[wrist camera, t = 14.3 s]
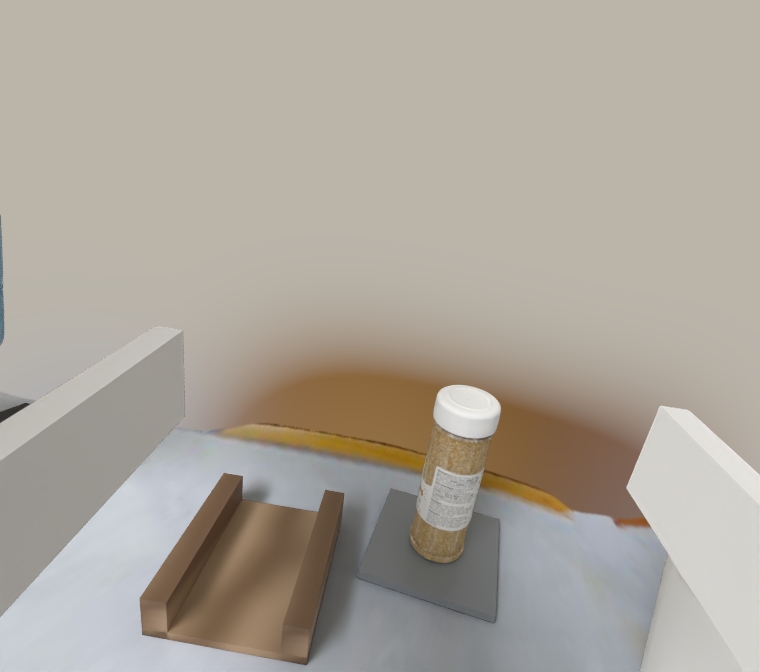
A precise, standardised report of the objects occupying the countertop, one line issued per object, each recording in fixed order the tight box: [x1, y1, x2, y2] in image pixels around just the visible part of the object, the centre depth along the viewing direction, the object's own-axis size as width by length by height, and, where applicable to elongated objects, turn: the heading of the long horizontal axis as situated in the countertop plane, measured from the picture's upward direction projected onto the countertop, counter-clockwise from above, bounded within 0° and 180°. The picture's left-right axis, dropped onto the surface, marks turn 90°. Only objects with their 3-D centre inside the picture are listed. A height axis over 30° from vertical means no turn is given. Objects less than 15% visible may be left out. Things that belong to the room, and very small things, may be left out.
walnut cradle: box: [140, 473, 344, 665], centre depth 33 cm, size 10×12×3 cm
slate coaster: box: [357, 489, 499, 623], centre depth 37 cm, size 10×10×1 cm
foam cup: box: [640, 554, 744, 672], centre depth 25 cm, size 10×9×13 cm
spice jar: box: [409, 385, 501, 563], centre depth 35 cm, size 5×5×14 cm
